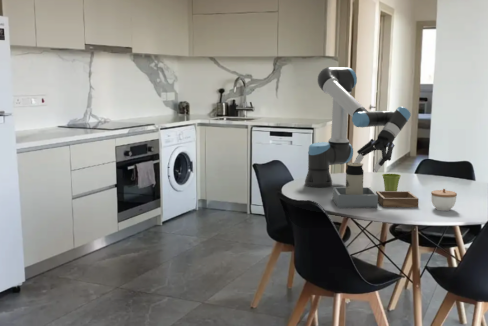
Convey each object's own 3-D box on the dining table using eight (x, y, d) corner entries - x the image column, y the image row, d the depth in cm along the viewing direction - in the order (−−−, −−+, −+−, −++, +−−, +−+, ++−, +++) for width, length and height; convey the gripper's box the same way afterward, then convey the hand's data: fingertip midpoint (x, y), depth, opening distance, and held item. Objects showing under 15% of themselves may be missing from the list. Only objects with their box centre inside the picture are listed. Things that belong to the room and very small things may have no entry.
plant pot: (400, 193, 275) (401, 176, 274) (382, 192, 277) (382, 176, 276) (399, 189, 284) (400, 173, 283) (381, 189, 286) (381, 173, 285)
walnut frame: (375, 199, 262) (375, 191, 261) (408, 199, 262) (408, 191, 261) (383, 206, 246) (383, 198, 246) (418, 207, 246) (418, 198, 245)
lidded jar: (426, 206, 246) (427, 186, 245) (449, 206, 247) (450, 186, 246) (436, 212, 236) (437, 191, 234) (460, 211, 237) (461, 191, 235)
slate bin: (332, 199, 263) (332, 187, 262) (369, 199, 262) (369, 187, 261) (338, 207, 245) (338, 195, 244) (377, 207, 244) (378, 195, 243)
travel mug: (361, 199, 257) (362, 162, 254) (363, 203, 249) (364, 165, 247) (344, 199, 258) (345, 162, 255) (346, 202, 250) (347, 165, 247)
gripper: (412, 142, 250) (387, 177, 244) (373, 136, 271) (350, 168, 265) (404, 131, 246) (379, 166, 241) (366, 127, 267) (342, 159, 262)
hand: (364, 168), depth 253 cm, fingers open, 13 cm apart
